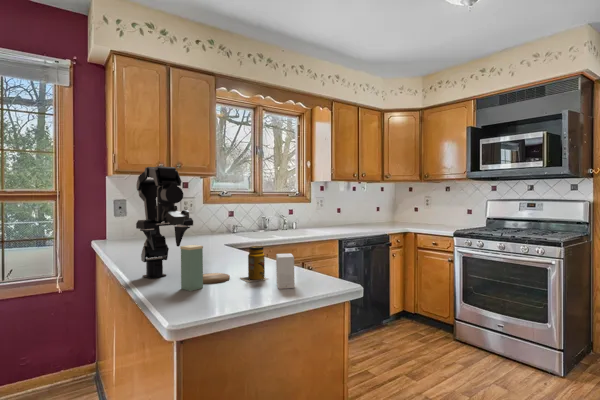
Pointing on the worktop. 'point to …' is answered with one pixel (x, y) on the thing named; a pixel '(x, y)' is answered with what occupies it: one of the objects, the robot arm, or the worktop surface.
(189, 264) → the tea tin
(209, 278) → the disc
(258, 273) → the condiment
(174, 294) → the worktop surface
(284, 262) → the small box
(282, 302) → the worktop surface
